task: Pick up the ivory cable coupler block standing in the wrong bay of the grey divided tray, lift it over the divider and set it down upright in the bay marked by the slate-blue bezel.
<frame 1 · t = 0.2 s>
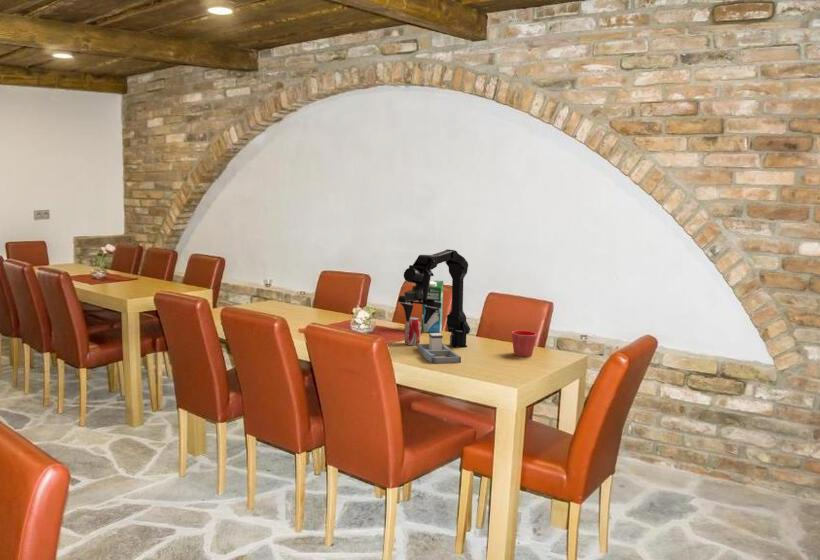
hand: (416, 322, 287), 15 cm above the table, tool pointing down, fingers open, 9 cm apart
coupler: (435, 352, 302), resting in grey divided tray
milk carton: (431, 331, 348), on the table
grey divided tray: (437, 355, 296), on the table
soda can: (412, 344, 317), on the table
flower pot: (523, 355, 302), on the table
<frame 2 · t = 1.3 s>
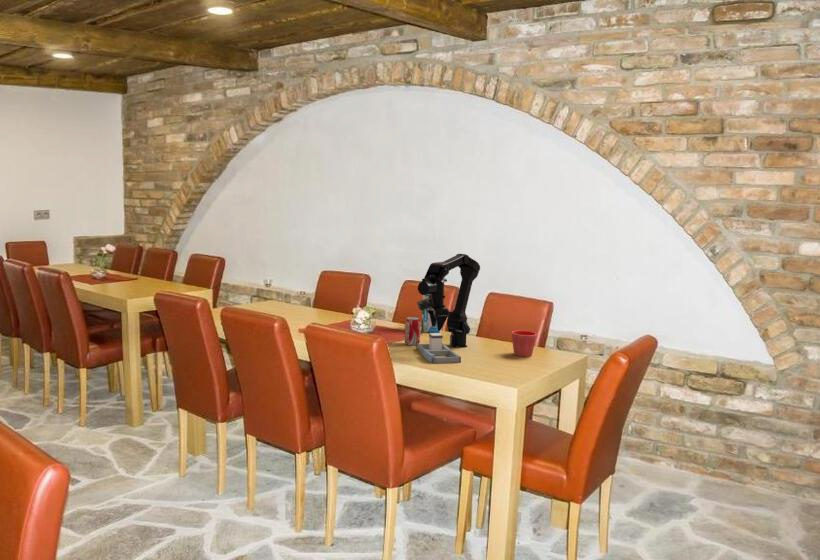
hand: (436, 328, 301), 10 cm above the table, tool pointing down, fingers open, 9 cm apart
nothing on the table moved.
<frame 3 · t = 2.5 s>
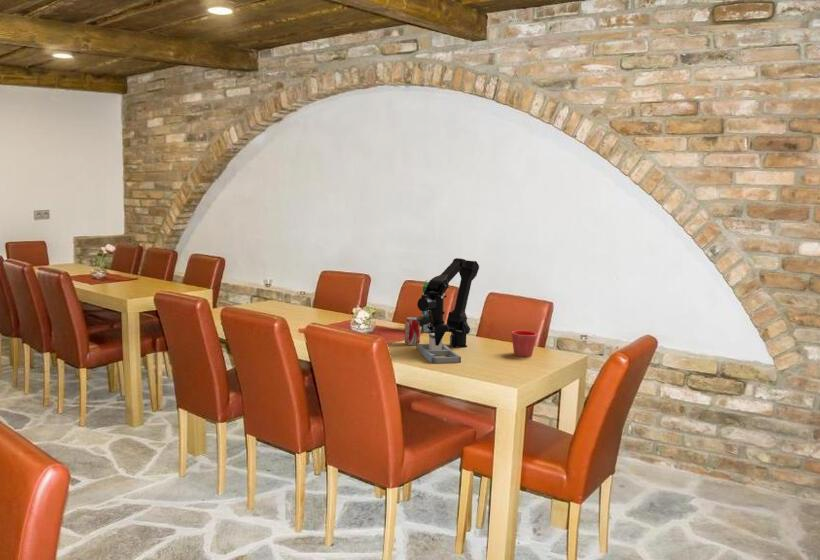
hand: (435, 344, 301), 4 cm above the table, tool pointing down, fingers closed on coupler, 4 cm apart
coupler: (435, 352, 302), resting in grey divided tray, touching gripper
everything else where it was.
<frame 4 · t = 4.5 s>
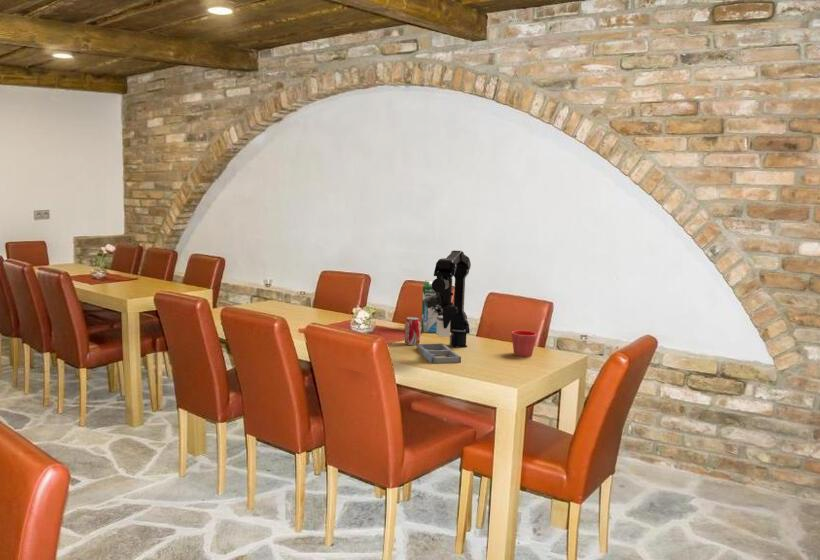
hand: (443, 327, 289), 13 cm above the table, tool pointing down, fingers closed on coupler, 4 cm apart
coupler: (443, 335, 289), point 10 cm above the table, touching gripper
everything else where it was.
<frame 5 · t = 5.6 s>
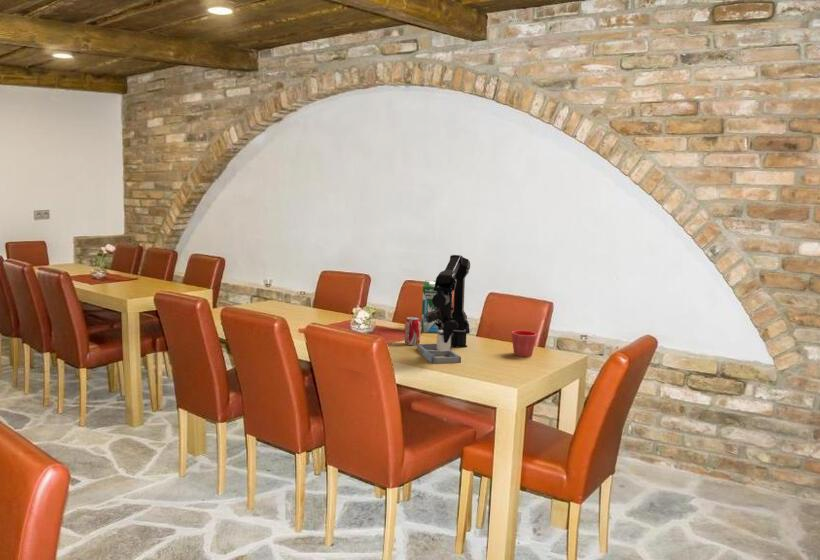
hand: (443, 341, 289), 7 cm above the table, tool pointing down, fingers closed on coupler, 4 cm apart
coupler: (443, 349, 290), point 4 cm above the table, touching gripper
everything else where it was.
when the fingers open (4 cm above the table, at t = 6.5 s): coupler stays where it is, resting in grey divided tray.
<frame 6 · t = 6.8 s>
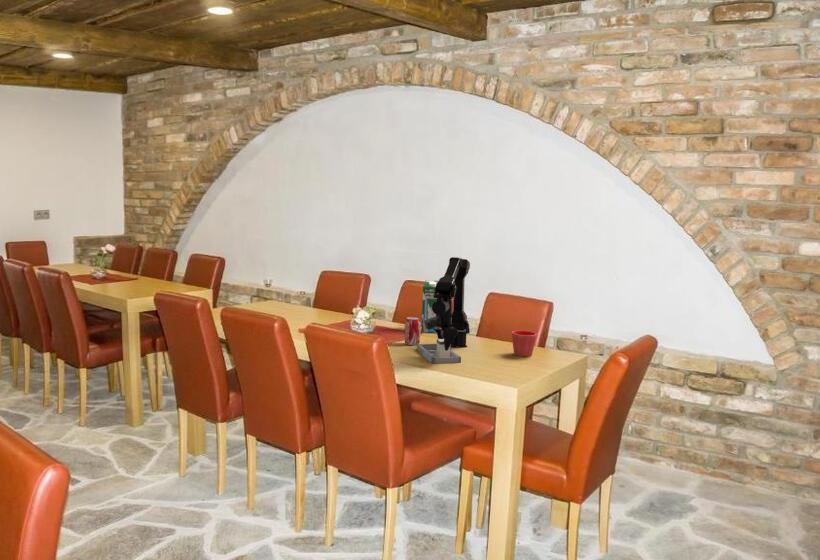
hand: (443, 348, 290), 4 cm above the table, tool pointing down, fingers open, 8 cm apart
coupler: (443, 359, 290), resting in grey divided tray
everything else where it was.
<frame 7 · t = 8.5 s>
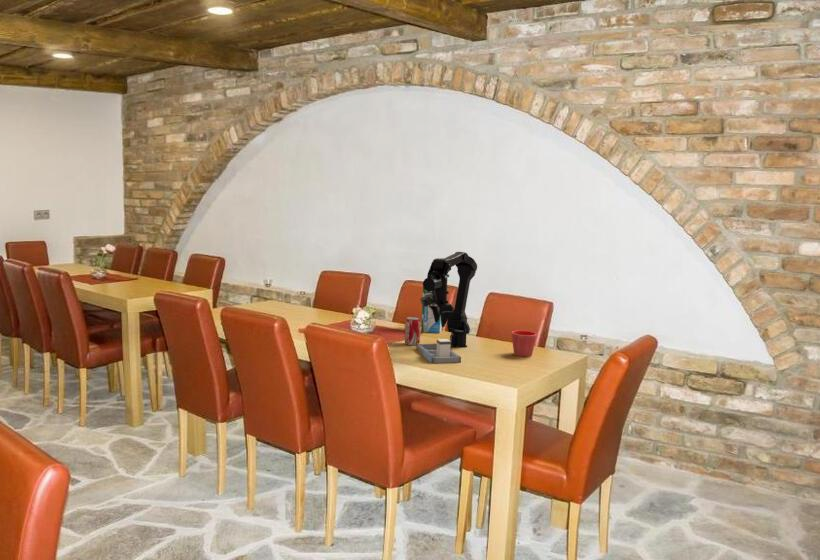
hand: (439, 324, 298), 13 cm above the table, tool pointing down, fingers open, 9 cm apart
nothing on the table moved.
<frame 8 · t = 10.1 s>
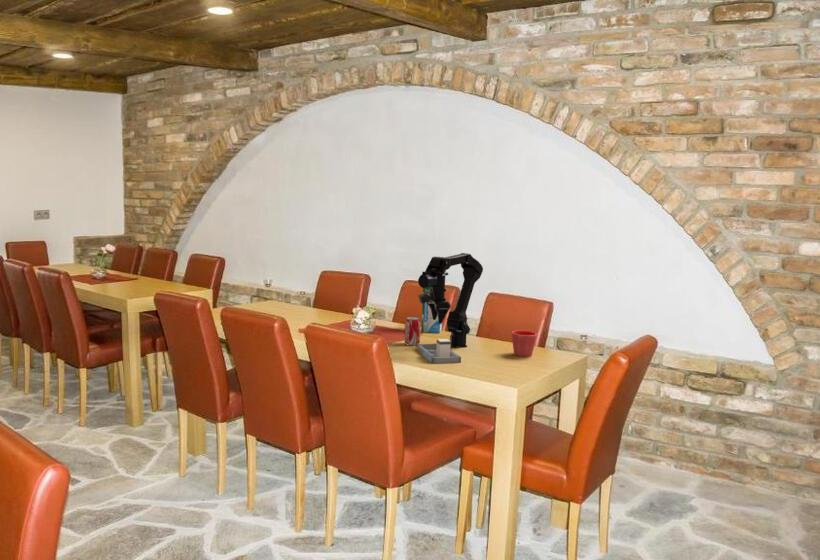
hand: (437, 321, 302), 13 cm above the table, tool pointing down, fingers open, 9 cm apart
nothing on the table moved.
at the end: coupler inside the target area (0.7 cm from its centre), resting in grey divided tray; coupler tilted 0°; the gripper is holding nothing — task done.
